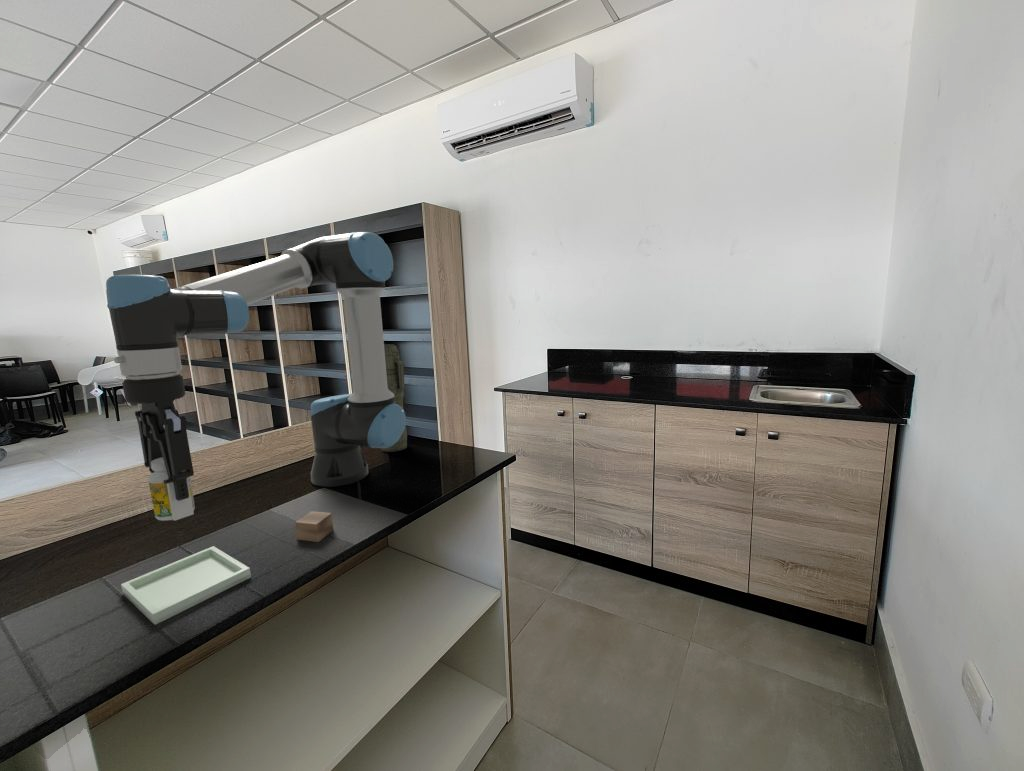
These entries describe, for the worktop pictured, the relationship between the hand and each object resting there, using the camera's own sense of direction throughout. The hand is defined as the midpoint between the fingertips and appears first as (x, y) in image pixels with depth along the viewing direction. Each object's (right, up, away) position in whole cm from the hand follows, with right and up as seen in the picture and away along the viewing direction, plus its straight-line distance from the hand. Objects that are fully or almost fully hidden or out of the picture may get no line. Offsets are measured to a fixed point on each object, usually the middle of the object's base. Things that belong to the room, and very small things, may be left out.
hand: (175, 512), depth 74 cm
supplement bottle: (0, 0, 0) cm, 1 cm away
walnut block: (+15, -10, +19) cm, 26 cm away
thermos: (+16, 0, +76) cm, 78 cm away
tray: (0, -13, +2) cm, 14 cm away
